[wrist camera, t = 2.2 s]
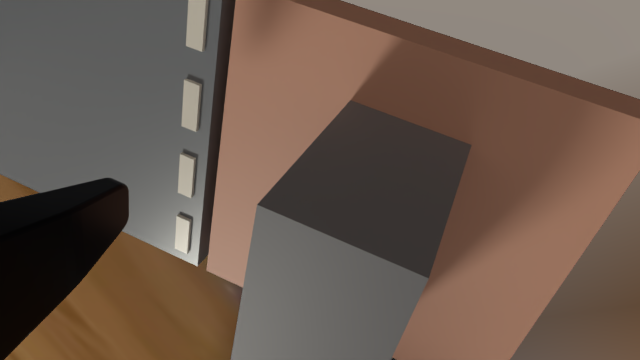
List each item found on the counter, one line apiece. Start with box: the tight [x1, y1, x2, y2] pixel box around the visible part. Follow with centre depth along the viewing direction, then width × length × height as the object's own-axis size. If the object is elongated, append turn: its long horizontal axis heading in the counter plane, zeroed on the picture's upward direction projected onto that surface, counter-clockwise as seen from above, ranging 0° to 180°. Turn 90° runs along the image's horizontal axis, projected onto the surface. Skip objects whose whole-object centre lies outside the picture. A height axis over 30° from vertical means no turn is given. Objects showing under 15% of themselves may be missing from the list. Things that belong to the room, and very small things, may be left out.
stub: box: [207, 0, 640, 360], centre depth 10 cm, size 8×8×5 cm
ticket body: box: [0, 0, 236, 266], centre depth 14 cm, size 9×8×1 cm
